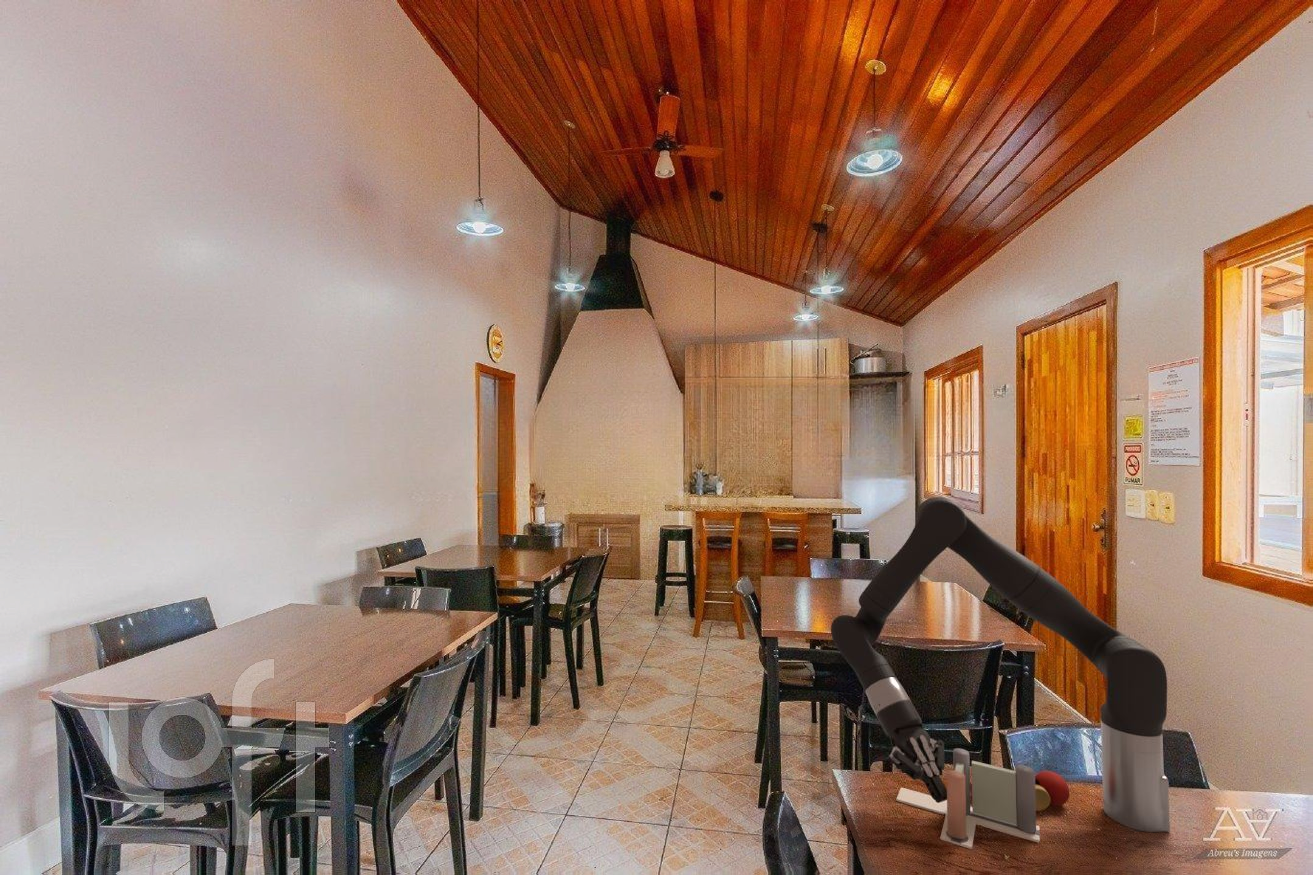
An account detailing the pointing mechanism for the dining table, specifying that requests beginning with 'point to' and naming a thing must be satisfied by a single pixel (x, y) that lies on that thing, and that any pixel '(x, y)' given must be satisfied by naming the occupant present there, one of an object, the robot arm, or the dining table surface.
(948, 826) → the gate
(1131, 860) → the dining table surface
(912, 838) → the dining table surface
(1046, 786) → the kendama
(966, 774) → the fence fixed
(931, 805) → the board
